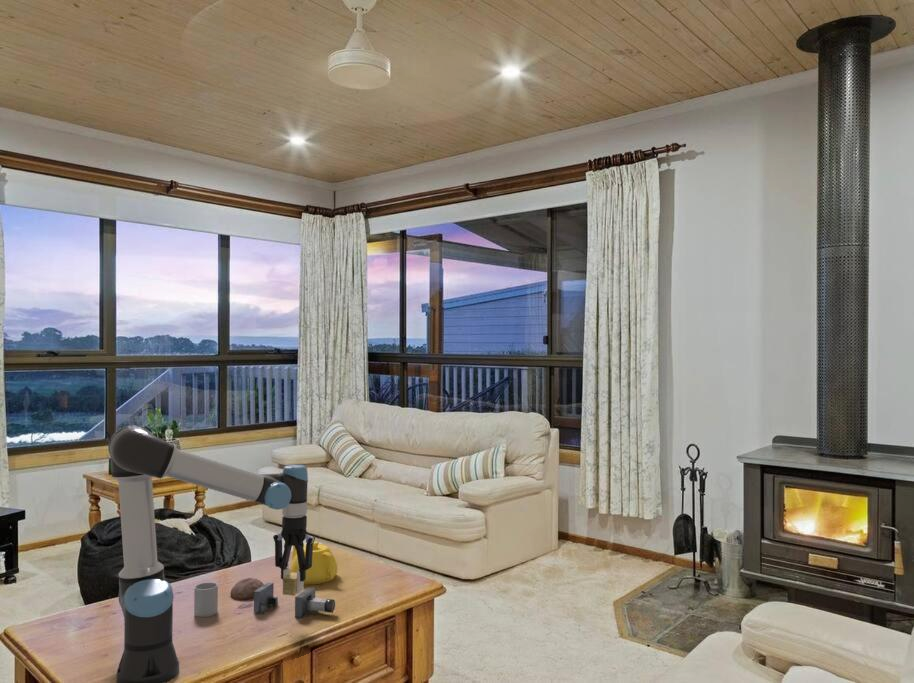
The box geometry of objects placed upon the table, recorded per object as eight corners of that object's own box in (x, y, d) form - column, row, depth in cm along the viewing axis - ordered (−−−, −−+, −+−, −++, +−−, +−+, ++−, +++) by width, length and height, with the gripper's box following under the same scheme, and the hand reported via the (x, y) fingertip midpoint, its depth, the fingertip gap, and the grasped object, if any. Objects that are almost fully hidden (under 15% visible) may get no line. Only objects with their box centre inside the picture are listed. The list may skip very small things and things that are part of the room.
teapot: (272, 577, 262) (272, 541, 263) (309, 565, 276) (309, 531, 276) (314, 591, 247) (314, 552, 247) (351, 578, 260) (351, 542, 261)
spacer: (303, 589, 217) (303, 573, 217) (294, 595, 212) (294, 579, 212) (292, 588, 218) (292, 572, 218) (282, 594, 213) (283, 578, 213)
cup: (197, 619, 220) (197, 591, 220) (189, 609, 228) (189, 582, 228) (220, 614, 224) (220, 586, 225) (211, 605, 232) (211, 578, 233)
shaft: (335, 610, 225) (335, 597, 225) (329, 614, 221) (330, 602, 221) (302, 606, 228) (302, 594, 228) (296, 611, 224) (296, 598, 225)
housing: (315, 607, 230) (315, 586, 230) (302, 618, 221) (302, 596, 221) (268, 602, 235) (268, 582, 235) (253, 612, 225) (253, 591, 226)
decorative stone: (224, 599, 239) (224, 583, 239) (241, 588, 250) (241, 572, 250) (255, 602, 236) (255, 585, 236) (271, 590, 248) (271, 574, 248)
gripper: (324, 514, 217) (323, 589, 216) (276, 510, 221) (274, 584, 221) (314, 519, 210) (312, 597, 209) (263, 515, 214) (262, 591, 213)
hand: (292, 590), depth 215 cm, fingers closed on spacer, 4 cm apart
